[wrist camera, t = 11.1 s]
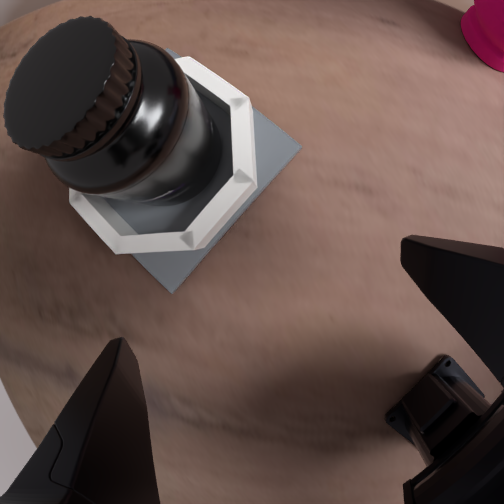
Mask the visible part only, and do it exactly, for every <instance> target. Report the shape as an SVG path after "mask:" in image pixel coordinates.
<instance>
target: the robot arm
mask: <svg viewBox="0 0 504 504" xmlns="http://www.w3.org/2000/svg"><path fill="white" fill-rule="evenodd" d="M400 261H401V265H402V267H403V268H404V269H405V271H406V272H407V273H408V274H409V276H410V277H411V278H412V280H413V281H414V282H415V283H416V285H417V286H418V287H419V289H420V290H421V291H422V292H423V294H424V295H425V296H426V297H427V299H428V300H429V301H430V302H431V303H432V304H433V305H434V306H435V307H436V308H437V310H438V311H439V312H440V313H441V314H442V315H443V316H444V317H445V318H446V319H447V320H448V322H449V323H450V324H451V325H452V326H453V327H454V328H455V329H456V331H457V332H458V333H459V334H460V335H461V336H462V337H463V339H464V340H465V341H466V342H467V343H468V344H469V346H470V347H471V348H472V349H473V350H474V351H475V353H476V354H477V355H478V356H479V357H480V359H481V360H482V361H483V362H484V363H485V365H486V366H487V367H488V368H489V370H490V371H491V372H492V373H493V375H494V376H495V377H496V378H497V380H498V381H499V382H500V383H501V385H502V386H503V388H504V249H503V248H501V247H495V246H488V245H482V244H475V243H468V242H462V241H455V240H448V239H440V238H433V237H426V236H418V235H410V236H407V237H405V238H403V239H402V241H401V257H400ZM447 361H449V362H448V364H446V365H445V363H446V362H447ZM501 392H502V393H501V395H500V396H499V397H498V398H497V399H496V400H495V402H494V403H493V404H492V405H491V404H490V403H489V402H488V401H487V400H485V399H484V394H483V393H482V392H481V390H480V389H479V388H478V387H477V386H476V385H475V383H474V382H473V381H472V380H471V379H470V377H469V376H468V375H467V374H466V373H465V372H464V371H463V369H462V368H461V367H460V366H459V365H458V364H457V362H456V361H455V360H454V359H453V358H452V357H451V356H449V355H446V356H444V357H443V358H442V359H441V360H440V361H439V362H438V363H437V364H436V365H435V367H434V368H433V369H432V370H431V371H430V372H429V373H428V374H427V375H426V376H425V377H424V378H423V379H422V380H421V381H420V382H419V383H418V384H417V385H416V386H415V387H414V388H413V389H412V390H411V391H410V392H409V393H408V394H407V395H406V396H405V397H404V398H403V399H402V400H401V401H400V402H399V403H398V404H397V405H396V406H394V407H393V408H392V409H391V410H390V411H389V412H388V413H387V414H386V415H385V421H386V423H387V424H388V425H390V426H391V427H392V428H393V429H395V430H396V431H397V432H399V433H400V434H401V435H402V436H404V437H405V438H406V439H408V440H409V441H410V442H412V443H413V444H414V445H415V446H416V447H417V449H418V451H419V453H420V455H421V456H422V458H423V460H424V462H425V464H426V466H427V467H426V468H425V469H424V470H423V471H422V472H420V473H419V474H418V475H416V476H415V477H414V478H413V479H409V480H408V481H407V482H405V483H404V484H403V492H404V494H403V495H404V504H504V389H503V390H502V391H501ZM392 416H394V417H393V418H392V419H390V418H391V417H392ZM54 423H55V424H53V425H52V427H51V428H50V430H49V432H48V433H47V435H46V436H45V438H44V439H43V441H42V442H41V444H40V445H39V447H38V448H37V450H36V451H35V453H34V454H33V455H32V457H31V458H30V460H29V461H28V463H27V464H26V465H25V466H24V468H23V469H22V471H21V472H20V473H19V475H18V476H17V478H16V479H15V480H14V482H13V483H12V484H11V486H10V487H9V489H8V490H7V491H6V492H5V494H3V495H2V496H1V497H0V504H160V499H159V494H158V488H157V482H156V476H155V469H154V462H153V455H152V447H151V439H150V431H149V421H148V412H147V406H146V400H145V396H144V391H143V386H142V381H141V376H140V370H139V365H138V361H137V359H136V357H135V355H134V353H133V351H132V350H131V348H130V346H129V345H128V343H127V341H126V340H125V339H124V338H123V337H120V338H116V339H113V340H110V341H109V343H108V344H107V345H106V347H105V348H104V350H103V351H102V352H101V354H100V355H99V357H98V358H97V360H96V361H95V362H94V364H93V365H92V367H91V368H90V370H89V371H88V373H87V374H86V375H85V377H84V378H83V380H82V381H81V383H80V384H79V386H78V387H77V389H76V390H75V392H74V393H73V395H72V396H71V398H70V399H69V401H68V402H67V404H66V405H65V407H64V408H63V410H62V411H61V413H60V414H59V416H58V418H57V419H56V421H55V422H54Z"/></svg>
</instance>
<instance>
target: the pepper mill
mask: <svg viewBox="0 0 504 504" xmlns="http://www.w3.org/2000/svg"><path fill="white" fill-rule="evenodd" d="M474 4H475V5H473V6H471V7H470V8H469V9H468V11H467V12H466V13H465V14H464V15H463V17H462V19H461V29H462V32H463V35H464V37H465V39H466V41H467V43H468V44H469V46H470V47H471V49H472V50H473V51H474V52H475V53H476V54H477V56H478V57H479V58H480V59H481V60H483V61H484V62H485V63H486V64H487V65H489V66H491V67H492V68H494V69H496V70H498V71H501V72H504V0H474Z"/></svg>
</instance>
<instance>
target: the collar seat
mask: <svg viewBox="0 0 504 504" xmlns="http://www.w3.org/2000/svg"><path fill="white" fill-rule="evenodd" d="M165 51H167V52H168V53H169V54H170V55H171V56H172V57H173V58H174V59H175V61H176V62H177V63H178V64H179V66H180V67H181V69H182V70H183V72H184V73H185V75H186V76H187V78H188V80H189V81H190V83H191V84H192V86H193V88H194V89H195V91H196V92H197V94H198V95H199V97H200V99H201V100H202V102H203V104H204V105H205V107H206V108H207V110H208V112H209V113H210V115H211V116H212V118H213V120H214V122H215V124H216V126H217V128H218V131H219V134H220V138H221V145H222V149H221V158H220V163H219V166H218V168H217V171H216V173H215V175H214V177H213V178H212V180H211V181H210V183H209V184H208V185H207V186H206V188H205V189H204V190H203V191H201V192H200V193H199V194H198V195H196V196H195V197H194V198H192V199H190V200H188V201H186V202H184V203H181V204H178V205H174V206H152V205H146V204H141V203H135V202H130V201H124V200H118V199H112V198H107V197H101V196H95V195H89V194H85V193H82V192H78V191H75V190H73V189H71V188H69V203H70V204H71V205H72V206H73V207H74V209H75V210H76V211H77V212H78V213H79V214H80V215H81V217H82V218H83V219H84V220H85V221H86V222H87V223H88V225H89V226H90V227H91V228H92V229H93V230H94V231H95V232H96V233H97V235H98V236H99V237H100V238H101V239H102V240H103V241H104V242H105V243H106V244H107V245H108V246H109V248H110V249H111V250H112V251H113V252H114V253H115V254H116V255H117V254H127V253H131V254H132V255H133V256H134V257H135V258H136V259H137V260H138V261H139V262H140V263H141V264H142V265H143V266H144V267H145V268H146V269H147V270H148V271H149V272H150V273H151V274H152V275H153V276H154V277H155V278H156V279H157V280H158V281H159V282H160V283H161V284H162V285H163V286H164V287H165V288H166V289H167V290H168V291H169V292H170V293H171V294H172V293H174V292H175V291H176V290H177V289H178V288H179V286H180V285H181V284H182V283H183V282H184V281H185V279H186V278H187V277H188V276H189V275H190V273H191V272H192V271H193V270H194V269H195V268H196V266H197V265H198V264H199V263H200V262H201V261H202V260H203V258H204V257H205V256H206V255H207V254H208V253H209V251H210V250H211V249H212V248H213V247H214V246H215V245H216V243H217V242H218V241H219V240H220V239H221V238H222V237H223V235H224V234H225V233H226V232H227V231H228V230H229V229H230V227H231V226H232V225H233V224H234V223H235V222H236V221H237V219H238V218H239V217H240V216H241V215H242V214H243V213H244V212H245V210H246V209H247V208H248V207H249V206H250V205H251V204H252V203H253V202H254V200H255V199H256V198H257V197H258V196H259V195H260V194H261V193H262V191H263V190H264V189H265V188H266V187H267V186H268V185H269V184H270V183H271V182H272V180H273V179H274V178H275V177H276V176H277V175H278V174H279V173H280V172H281V171H282V169H283V168H284V167H285V166H286V165H287V164H288V163H289V162H290V161H291V160H292V159H293V157H294V156H295V155H296V154H297V153H298V152H299V151H300V150H301V149H302V146H301V145H300V144H299V143H297V142H296V141H295V140H294V139H293V138H291V137H290V136H289V135H288V134H286V133H285V132H284V131H283V130H282V129H280V128H279V127H278V126H277V125H275V124H274V123H273V122H272V121H270V120H269V119H268V118H266V117H265V116H264V115H263V114H261V113H260V112H259V111H257V110H256V109H255V108H253V107H252V106H251V103H250V99H249V97H247V96H246V95H245V94H243V93H242V92H240V91H239V90H238V89H236V88H235V87H234V86H232V85H231V84H229V83H228V82H226V81H225V80H224V79H222V78H221V77H219V76H218V75H216V74H215V73H213V72H212V71H211V70H209V69H208V68H206V67H205V66H203V65H202V64H200V63H199V62H197V61H196V60H194V59H192V58H191V57H190V56H188V57H181V56H179V55H178V54H176V53H175V52H173V51H172V50H170V49H168V48H167V49H166V50H165Z"/></svg>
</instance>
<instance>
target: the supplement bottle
mask: <svg viewBox="0 0 504 504" xmlns="http://www.w3.org/2000/svg"><path fill="white" fill-rule="evenodd" d="M3 116H4V119H5V127H6V128H7V133H8V135H9V136H10V137H11V138H12V141H13V143H15V144H18V146H19V147H20V148H22V149H24V150H28V151H31V152H34V153H38V154H40V155H41V156H43V157H45V160H46V162H47V164H48V166H49V168H50V169H51V171H52V172H53V174H54V175H55V176H56V177H57V178H58V179H59V180H60V181H61V182H62V183H63V184H65V185H66V186H68V187H69V188H71V189H73V190H75V191H78V192H82V193H85V194H89V195H95V196H101V197H107V198H112V199H118V200H124V201H130V202H135V203H141V204H146V205H152V206H174V205H178V204H181V203H184V202H186V201H188V200H190V199H192V198H194V197H195V196H196V195H198V194H199V193H200V192H201V191H203V190H204V189H205V188H206V186H207V185H208V184H209V183H210V181H211V180H212V178H213V177H214V175H215V173H216V171H217V168H218V166H219V163H220V158H221V149H222V145H221V138H220V134H219V131H218V128H217V126H216V124H215V122H214V120H213V118H212V116H211V115H210V113H209V112H208V110H207V108H206V107H205V105H204V104H203V102H202V100H201V99H200V97H199V95H198V94H197V92H196V91H195V89H194V88H193V86H192V84H191V83H190V81H189V80H188V78H187V76H186V75H185V73H184V72H183V70H182V69H181V67H180V66H179V64H178V63H177V62H176V61H175V59H174V58H173V57H172V56H171V55H170V54H169V53H168V52H167V51H165V50H164V49H162V48H161V47H159V46H157V45H155V44H152V43H150V42H146V41H142V40H134V39H125V38H124V37H123V36H121V35H120V34H119V33H118V32H117V31H116V30H115V29H114V28H113V26H112V25H111V24H109V23H108V22H105V21H104V20H102V19H101V18H93V17H92V16H89V17H85V18H84V17H79V18H76V19H70V20H68V21H67V22H65V23H61V24H59V25H58V26H57V27H55V28H53V29H51V30H49V31H48V32H47V33H46V34H45V35H44V36H42V37H41V38H40V39H39V40H38V41H37V42H36V43H35V44H34V45H33V46H32V47H31V48H30V49H29V51H28V53H27V54H26V55H25V56H24V57H23V58H22V60H21V62H20V64H19V66H18V67H17V68H16V70H15V72H14V75H13V77H12V79H11V80H10V84H9V88H8V90H7V92H6V99H5V102H4V115H3Z"/></svg>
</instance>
